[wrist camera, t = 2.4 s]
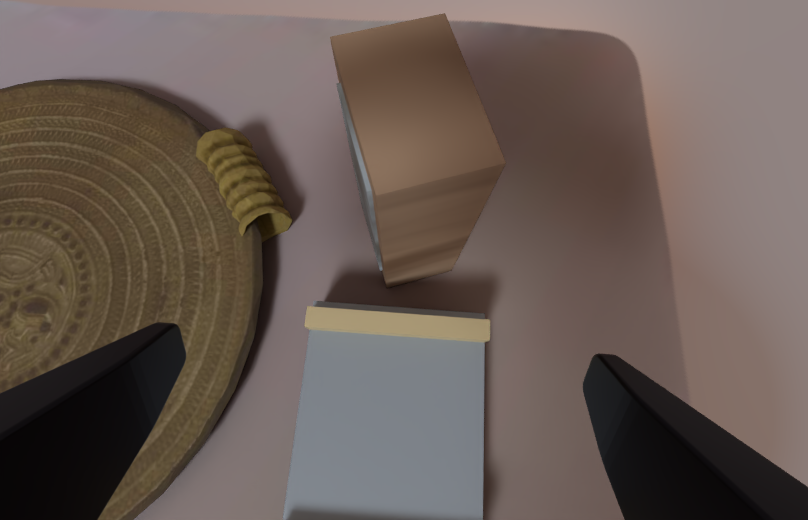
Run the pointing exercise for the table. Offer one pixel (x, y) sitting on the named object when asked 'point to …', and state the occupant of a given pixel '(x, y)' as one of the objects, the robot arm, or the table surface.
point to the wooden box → (415, 143)
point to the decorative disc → (130, 250)
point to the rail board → (389, 415)
